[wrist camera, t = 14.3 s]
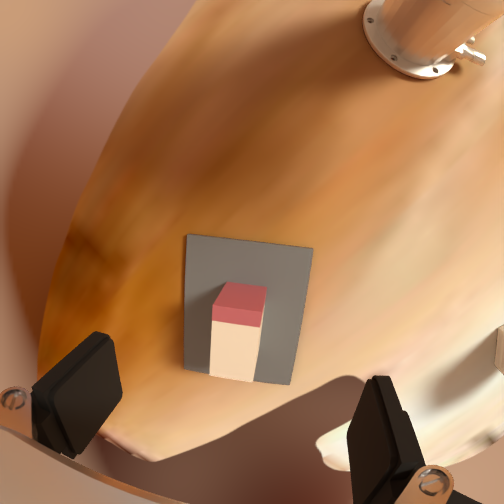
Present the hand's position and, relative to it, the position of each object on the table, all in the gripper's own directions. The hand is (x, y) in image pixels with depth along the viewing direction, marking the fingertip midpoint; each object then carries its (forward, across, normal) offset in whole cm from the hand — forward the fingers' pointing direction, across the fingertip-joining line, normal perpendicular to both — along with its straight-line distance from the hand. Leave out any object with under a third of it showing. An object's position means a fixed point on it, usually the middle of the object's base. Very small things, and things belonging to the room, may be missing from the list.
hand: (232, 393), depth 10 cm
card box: (+24, +3, +9) cm, 26 cm away
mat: (+24, +3, +9) cm, 26 cm away
